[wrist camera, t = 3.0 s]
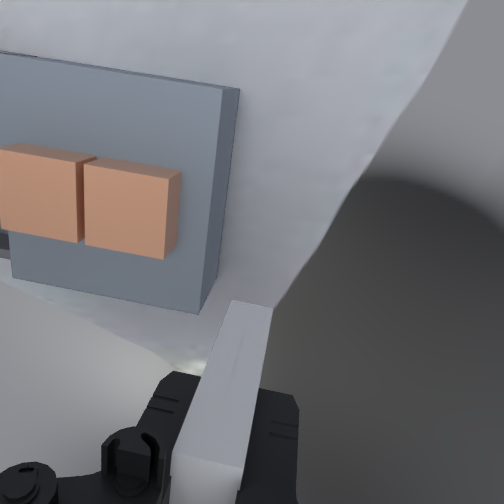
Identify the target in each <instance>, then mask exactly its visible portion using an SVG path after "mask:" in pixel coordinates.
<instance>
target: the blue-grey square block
mask: <svg viewBox="0 0 504 504" xmlns="http://www.w3.org/2000/svg"><path fill="white" fill-rule="evenodd" d="M239 91H240V89H238V88H232V87H225V86H219V85H213V84H206V83H200V82H194V81H188V80H181V79H175V78H169V77H163V76H156V75H150V74H144V73H137V72H131V71H125V70H119V69H112V68H106V67H100V66H94V65H87V64H81V63H75V62H69V61H62V60H56V59H49V58H40V57H31V56H22V55H13V54H3V53H0V147H1V146H6V145H11V144H16V143H26V144H32V145H38V146H43V147H49V148H55V149H61V150H66V151H72V152H78V153H83V154H89V155H95V156H97V159H100V158H103V157H106V158H112V159H118V160H123V161H129V162H135V163H141V164H146V165H152V166H158V167H163V168H169V169H175V170H181V171H182V174H181V188H180V201H179V214H178V227H177V240H176V246H175V247H174V248H173V249H172V250H171V252H170V253H169V254H168V255H167V256H166V258H165V259H164V260H162V259H157V258H152V257H147V256H141V255H136V254H131V253H126V252H120V251H115V250H110V249H105V248H99V247H94V246H89V245H85V239H83V240H82V241H80V242H79V243H73V242H68V241H63V240H57V239H52V238H47V237H42V236H36V235H31V234H26V233H21V232H15V231H10V230H8V236H9V246H10V256H11V266H12V276H13V278H16V279H21V280H26V281H31V282H36V283H41V284H46V285H51V286H56V287H61V288H67V289H72V290H77V291H82V292H87V293H92V294H97V295H102V296H107V297H112V298H117V299H122V300H127V301H132V302H137V303H142V304H147V305H152V306H157V307H162V308H167V309H172V310H177V311H182V312H187V313H192V314H197V315H199V313H200V311H201V309H202V307H203V305H204V303H205V300H206V298H207V296H208V294H209V292H210V290H211V288H212V286H213V284H214V282H215V280H216V278H217V270H218V262H219V254H220V245H221V237H222V229H223V221H224V213H225V205H226V197H227V189H228V180H229V172H230V164H231V156H232V148H233V140H234V132H235V124H236V115H237V107H238V99H239Z"/></svg>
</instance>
